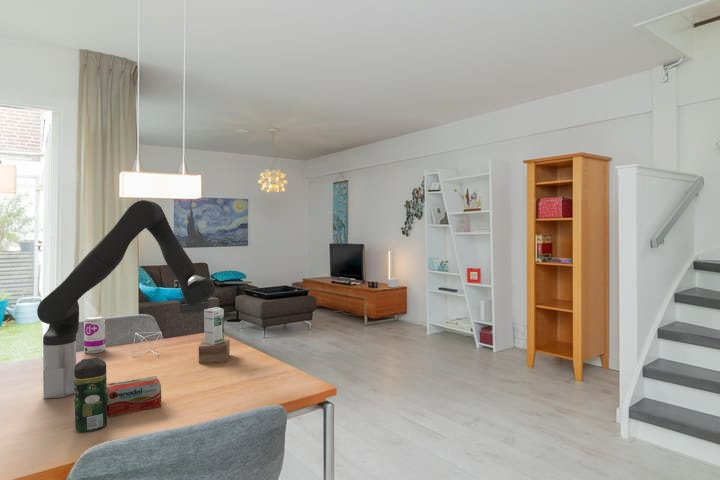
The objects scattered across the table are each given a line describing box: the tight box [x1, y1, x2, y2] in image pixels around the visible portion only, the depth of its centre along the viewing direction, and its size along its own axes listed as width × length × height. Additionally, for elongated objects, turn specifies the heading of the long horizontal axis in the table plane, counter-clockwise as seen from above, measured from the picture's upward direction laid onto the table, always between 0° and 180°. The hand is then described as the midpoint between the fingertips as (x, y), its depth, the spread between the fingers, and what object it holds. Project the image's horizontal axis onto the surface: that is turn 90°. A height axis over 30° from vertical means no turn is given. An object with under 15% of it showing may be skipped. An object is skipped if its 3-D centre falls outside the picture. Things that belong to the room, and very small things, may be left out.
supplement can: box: [83, 315, 106, 354], centre depth 203 cm, size 8×8×15 cm
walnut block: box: [198, 338, 231, 364], centre depth 192 cm, size 11×11×7 cm
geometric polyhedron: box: [131, 331, 163, 358], centre depth 199 cm, size 12×11×9 cm
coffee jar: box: [73, 357, 108, 433], centre depth 128 cm, size 10×8×19 cm
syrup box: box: [203, 306, 225, 345], centre depth 192 cm, size 6×6×14 cm
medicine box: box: [107, 375, 162, 418], centre depth 141 cm, size 15×8×8 cm, turn 123°
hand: (192, 281), depth 183 cm, fingers open, 8 cm apart
